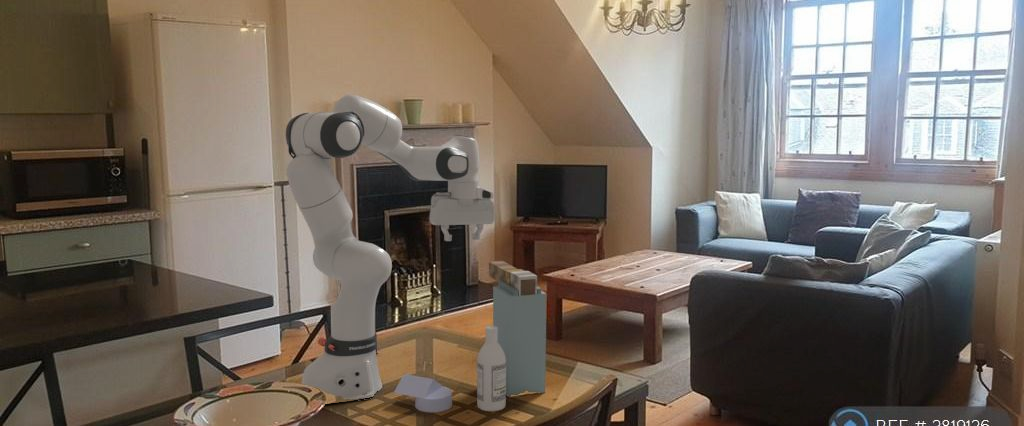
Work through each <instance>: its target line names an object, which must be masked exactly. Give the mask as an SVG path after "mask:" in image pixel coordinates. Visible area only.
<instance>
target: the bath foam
mask: <svg viewBox="0 0 1024 426" xmlns="http://www.w3.org/2000/svg"><path fill="white" fill-rule="evenodd" d="M476 375H477V376H476V379H477V380H476V387H477V388H476V389H477V390H476V399H477V402H476V405H477V408H478V409H479V410H481V411H484V412H490V413H491V412H498V411H502V410H503V409H504V408H505V407H506V402H507V401H506V400H507V397H506V396H507V395H506V358H505V354H504V351H503V349H502V348H501V346H500V345H499V343H498V328H497V327H496V326H493V325H488V326H486V327H485V342H484V344H483V345H482V346H481V347H480V350H479V351H478V355H477V359H476Z"/></svg>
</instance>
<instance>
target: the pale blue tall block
mask: <svg viewBox="0 0 1024 426" xmlns="http://www.w3.org/2000/svg"><path fill="white" fill-rule="evenodd" d="M492 293H493V294H492V301H493V302H492V307H493V308H492V326H496V327H497V328H498V343H499V345H500V346H501V348H502V349H503V351H504V354H505V358H506V396H507V395H508V396H511V395H518V394H520V393H524V392H525V391H528V392H540V393H539V394H544V393H546V371H547V370H546V369H547V367H546V358H547V357H546V356H547V352H546V350H547V347H546V345H547V292H544V291H542V288H541V287H539V286H538V285H537V294H536V295H524V296H518V290H517V289H515V288H513V287H512V286H510V285H509V284H507V283H505V282H504V281H502V280H499V281H497V285H494V286H492ZM508 396H507V397H508Z"/></svg>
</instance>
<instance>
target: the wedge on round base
mask: <svg viewBox="0 0 1024 426" xmlns="http://www.w3.org/2000/svg"><path fill="white" fill-rule="evenodd" d="M393 394H399V395H403V396H409V397H414V407H415V408H416V409H417V411H420V412H424V413H440V412H445V411H447V410H450V409H451V408H452V406H453V390H452V389H451V388H449V387H447V386H443V385H442V384H441V383H440V382H438V381H437V380H436V379H434V378H429V377H424V376H418V375H413V374H406V373H404V374H402V376H401V378H400V380H399V382H398V384H397V386H396V388H395V390H394V392H393Z"/></svg>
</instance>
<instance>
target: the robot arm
mask: <svg viewBox="0 0 1024 426" xmlns="http://www.w3.org/2000/svg"><path fill="white" fill-rule="evenodd" d="M402 135H403V124H402V121H401V119H400V118H399V117H398V116H397V115H396V114H395V113H394V112H393V111H391V110H389V109H388V108H386V107H384V106H382V105H381V104H379V103H377V102H375V101H373V100H370V99H369V98H366V97H363V96H360V95H356V94H352V93H351V94H346V95H344V96H342V97H340V98H339V99H338V100H337V102H336V103H335V105H334V107H333V110H332V111H331V112H327V111H326V112H325V111H316V112H315V111H314V112H304V113H301V114H298V115H296V116H294V117H292V118H291V119H290V120H289V122H288V123H287V124H286V128H285V140H286V144H287V147H288V154H289V156H290V157H291V158H292V159H291V160H290V161H289V163H288V164H287V165H286V166H287V167H286V173H285V174H286V177H287V181H288V184H289V188H290V191H291V194H292V195H293V197H294V200H295V202H296V204H297V206H298V208H299V211H300V212H301V215H302V216H303V218H304V221H305V222H306V224H307V226H308V228H309V230H310V232H311V237H312V240H313V245H314V249H313V252H312V262H313V264H314V266H315V268H316V269H317V270H318V271H320V272H321V273H322V274H323V275H325V276H326V277H328V278H330V279H334V280H338V281H340V289H339V295H338V297H337V299H336V300H335V301H333V302H332V304H331V307H330V324H331V325H330V331H331V332H330V336H329V338H327V339H326V338H324V337H323V336H322V337H318V339H317V344H318V345H319V346H321V347H324V351H323V352H322V353H321V354H320V355H318V357H317V358H316V359H314V360H313V361H312V362H311V363H310V364H308V366H307V367H305V368H304V370H303V375H302V379H301V385H302V384H305V385H308V386H312V387H315V388H319V389H321V390H322V391H324V392H325V393H328V394H332V395H336V396H341V397H342V398H343V399H359V398H369V397H373V396H374V397H375V395H374V394H376V393H377V391H378V392H380V391H381V389H382V388H383V383H382V380H381V377H380V371H379V368H378V367H379V366H378V358H377V354H376V353H377V347H378V335H377V333H376V303H377V298H378V295H379V292H380V289H381V286H382V285H383V284H384V283H386V282H387V280H388V279H389V277H390V276H391V273H392V268H393V264H392V263H393V262H392V258H391V256H390V254H389V253H388V252H387V251H386V250H384V249H383V248H382V247H379V245H376V244H374V243H371V242H366V241H363V240H362V241H361V240H358V239H357V238H356V236H355V235H354V234H353V231H352V227H351V222H352V220H353V217H354V213H353V210H352V208H351V205H350V204H349V202H348V199H347V197H346V195H345V193H344V191H343V190H342V187H341V186H340V183H339V180H338V179H337V178H336V176H335V174H334V170H333V159H335V158H336V159H343V158H347V157H350V156H352V155H354V154H355V153H356V152H357V151H358V150H359V149H360V147H361V145H362V146H365V147H366V148H369V149H371V150H372V151H376V152H377V153H378V154H380V155H381V156H383V157H385V158H386V159H388V160H389V161H391V162H393V163H395V164H396V165H397V166H398V167H400V169H401V170H402V171H403V173H405V175H406V176H407V177H408V178H409V179H410V180H412V181H416V182H422V181H435V182H436V181H437V182H438V181H439V182H441V181H442V182H447V192H440V191H438V192H435V193H434V194H433V195H432V196H431V198H430V205H431V206H430V211H429V223H430V224H431V225H433V226H440V229H441V231H442V233H443V235H444V236H443V237H444V238H443V239H444V241H445V242H452V240H453V239H452V238H453V235H452V234H450V233H449V229H450V226H457V225H459V226H461V225H462V226H463V225H466V226H467V225H475V228H476V229H475V232H474V233H472V241H479V240H480V237H481V233H482V232H483V230H484V225H492V224H493V223H494V222H495V221H496V208H495V203H494V201H493V200H494V196H495V195H494V194H495V193H494V192H493V191H491V190H488V189H486V188H484V187H480V185H479V184H480V183H479V182H480V181H479V175H478V174H479V169H480V151H479V150H480V148H479V144H478V141H477V139H475V138H474V137H472V136H467V135H462V134H461V135H460V134H459V135H458V134H457V135H453V136H451V138H450V140H448V141H446V142H445V143H444V144H441V145H440V146H439V145H438V146H423V145H409V144H408V143H406V142H405V141H403V140H402V139H401V138H402ZM492 199H493V200H492ZM374 397H373V398H374Z"/></svg>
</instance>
